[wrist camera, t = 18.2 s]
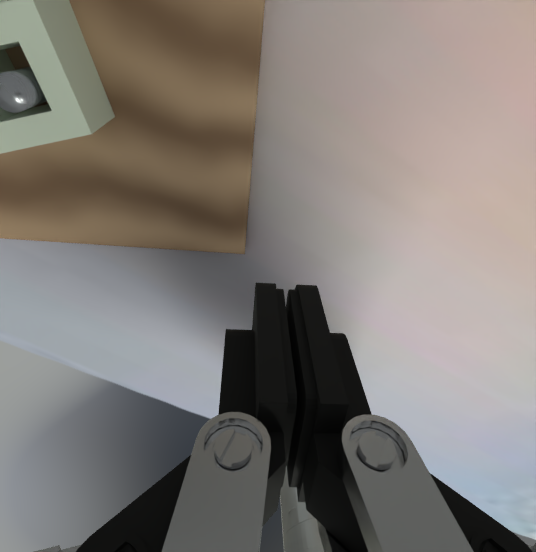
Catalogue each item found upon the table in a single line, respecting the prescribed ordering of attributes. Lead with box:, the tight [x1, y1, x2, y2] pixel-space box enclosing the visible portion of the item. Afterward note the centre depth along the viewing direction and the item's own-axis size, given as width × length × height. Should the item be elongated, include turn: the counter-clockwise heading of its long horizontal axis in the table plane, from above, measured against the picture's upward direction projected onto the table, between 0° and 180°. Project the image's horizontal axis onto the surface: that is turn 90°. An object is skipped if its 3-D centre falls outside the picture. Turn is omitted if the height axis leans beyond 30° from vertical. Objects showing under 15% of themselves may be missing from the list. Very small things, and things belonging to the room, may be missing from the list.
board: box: [0, 0, 265, 254], centre depth 28 cm, size 22×22×1 cm
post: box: [0, 66, 47, 113], centre depth 23 cm, size 2×2×6 cm
